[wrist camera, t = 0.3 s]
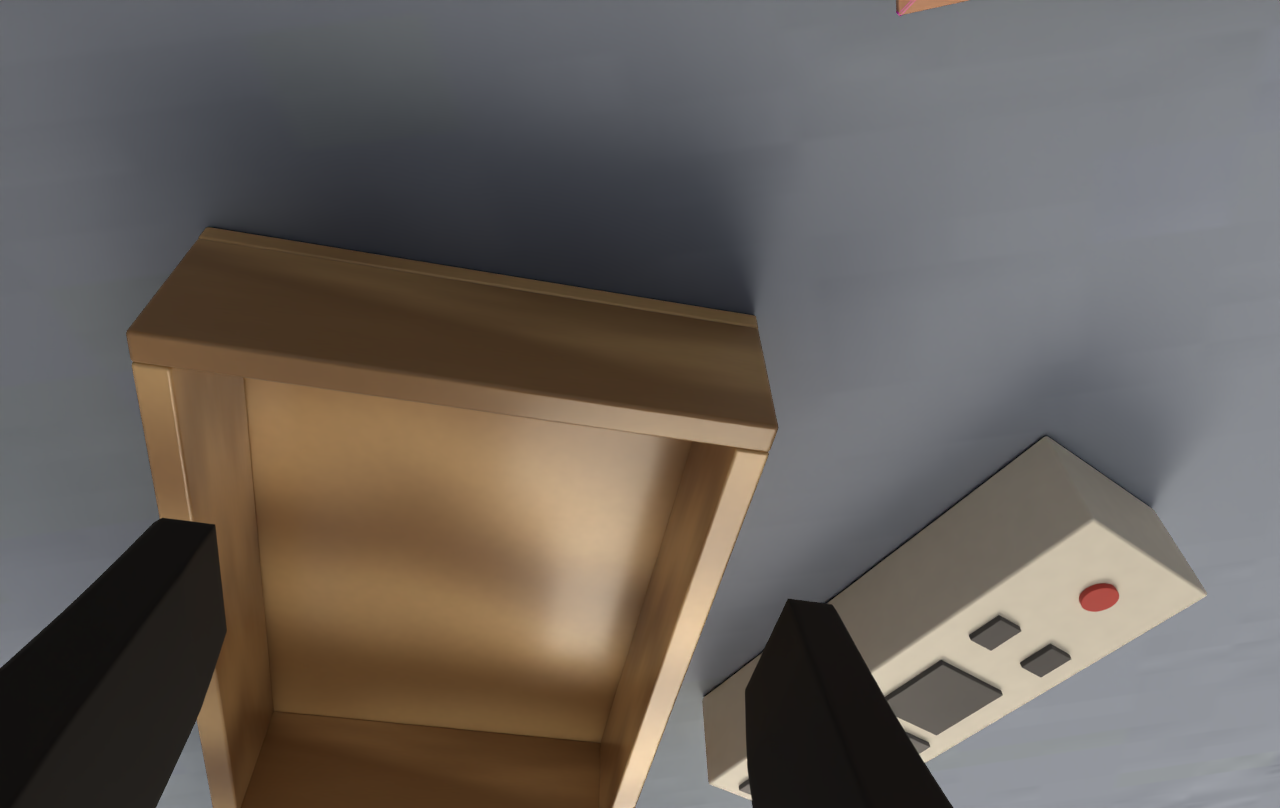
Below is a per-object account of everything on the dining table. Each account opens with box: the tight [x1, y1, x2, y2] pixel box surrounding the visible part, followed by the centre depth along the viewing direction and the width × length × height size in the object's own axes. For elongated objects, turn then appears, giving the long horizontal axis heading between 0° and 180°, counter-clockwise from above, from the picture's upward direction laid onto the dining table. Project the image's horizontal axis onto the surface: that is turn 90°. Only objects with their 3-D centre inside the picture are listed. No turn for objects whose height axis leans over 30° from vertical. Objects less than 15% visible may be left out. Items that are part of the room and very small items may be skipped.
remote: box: [702, 436, 1207, 800], centre depth 26 cm, size 14×5×3 cm, turn 144°
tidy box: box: [126, 227, 778, 808], centre depth 24 cm, size 18×12×4 cm
